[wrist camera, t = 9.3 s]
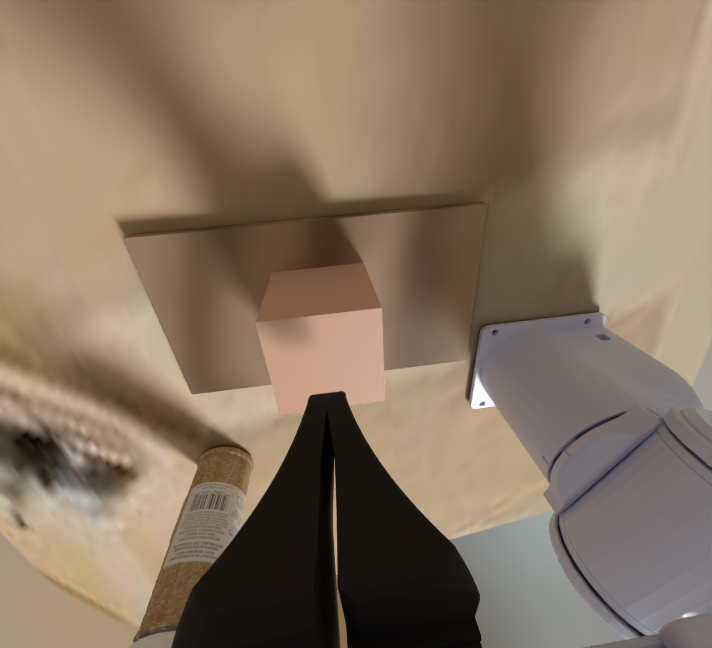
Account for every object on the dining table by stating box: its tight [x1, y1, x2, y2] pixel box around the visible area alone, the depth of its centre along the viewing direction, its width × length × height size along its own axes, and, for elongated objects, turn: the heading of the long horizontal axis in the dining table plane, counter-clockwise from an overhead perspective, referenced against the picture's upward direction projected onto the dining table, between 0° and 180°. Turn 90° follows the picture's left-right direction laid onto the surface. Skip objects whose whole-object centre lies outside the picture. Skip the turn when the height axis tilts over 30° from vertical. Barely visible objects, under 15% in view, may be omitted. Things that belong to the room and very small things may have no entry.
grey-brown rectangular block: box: [123, 202, 488, 394], centre depth 18 cm, size 20×11×6 cm, turn 94°
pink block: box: [255, 263, 385, 415], centre depth 17 cm, size 5×5×6 cm
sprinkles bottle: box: [129, 447, 253, 648], centre depth 21 cm, size 5×5×13 cm
